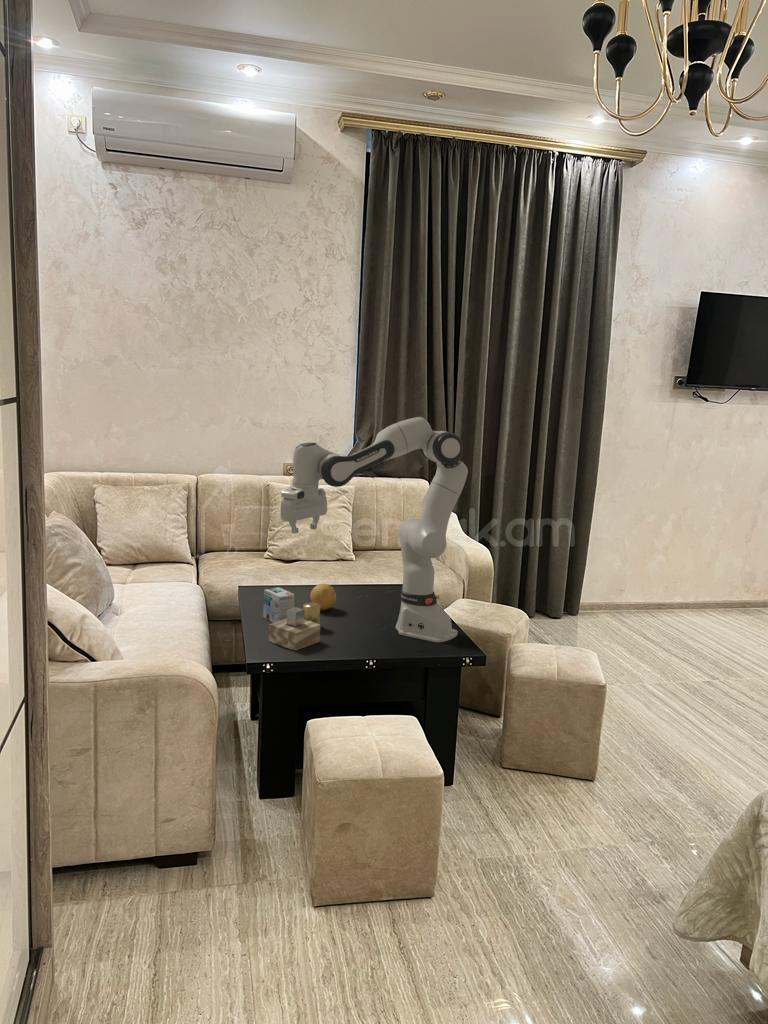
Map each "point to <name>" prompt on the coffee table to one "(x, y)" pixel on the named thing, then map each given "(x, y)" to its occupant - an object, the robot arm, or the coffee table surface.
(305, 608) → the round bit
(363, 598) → the coffee table surface
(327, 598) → the stress ball
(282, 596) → the light bulb box
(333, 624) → the coffee table surface
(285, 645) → the socket block
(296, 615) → the square bit
